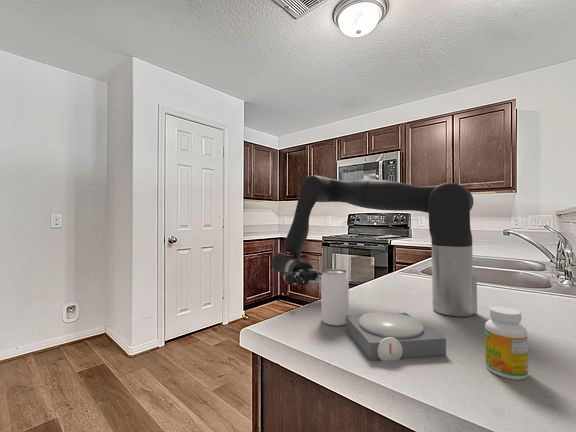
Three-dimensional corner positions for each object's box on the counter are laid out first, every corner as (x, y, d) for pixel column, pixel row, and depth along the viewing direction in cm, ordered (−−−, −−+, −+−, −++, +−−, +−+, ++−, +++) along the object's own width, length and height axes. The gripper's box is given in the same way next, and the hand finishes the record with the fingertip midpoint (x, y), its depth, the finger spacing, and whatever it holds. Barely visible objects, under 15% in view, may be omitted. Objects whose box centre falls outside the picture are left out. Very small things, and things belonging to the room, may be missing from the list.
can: (349, 327, 65) (348, 274, 65) (320, 325, 66) (319, 273, 66) (349, 317, 71) (348, 269, 71) (322, 316, 72) (322, 268, 72)
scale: (405, 328, 65) (405, 309, 65) (448, 360, 50) (447, 335, 50) (345, 332, 63) (345, 312, 64) (371, 365, 49) (371, 339, 49)
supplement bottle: (477, 363, 48) (476, 305, 48) (507, 361, 49) (506, 304, 49) (504, 381, 43) (503, 316, 43) (537, 379, 43) (536, 314, 43)
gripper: (277, 260, 93) (292, 269, 77) (318, 258, 97) (340, 266, 81) (277, 284, 93) (292, 297, 77) (318, 281, 97) (340, 293, 81)
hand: (316, 281), depth 79 cm, fingers open, 8 cm apart
